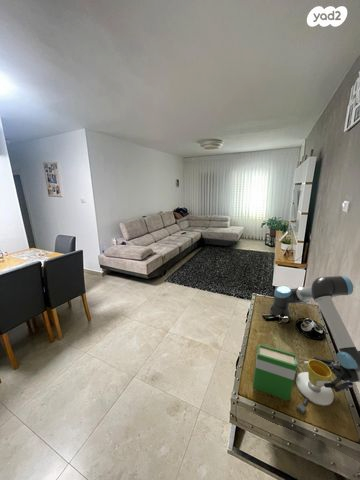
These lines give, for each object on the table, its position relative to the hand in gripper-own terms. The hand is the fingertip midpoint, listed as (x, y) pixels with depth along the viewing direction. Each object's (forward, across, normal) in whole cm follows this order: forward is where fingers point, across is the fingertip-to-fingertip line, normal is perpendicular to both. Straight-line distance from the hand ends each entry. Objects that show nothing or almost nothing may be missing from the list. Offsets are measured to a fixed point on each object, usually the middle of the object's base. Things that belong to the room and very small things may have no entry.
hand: (310, 373), depth 104 cm
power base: (-1, -3, -12) cm, 12 cm away
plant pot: (-4, 0, -6) cm, 7 cm away
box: (+7, +13, -12) cm, 19 cm away
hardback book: (+19, +1, -12) cm, 23 cm away
